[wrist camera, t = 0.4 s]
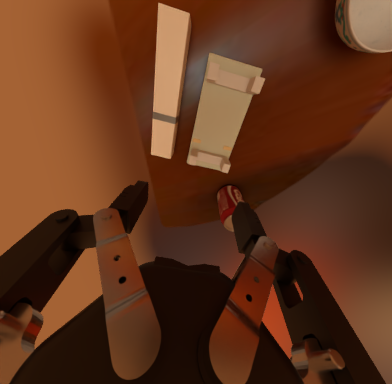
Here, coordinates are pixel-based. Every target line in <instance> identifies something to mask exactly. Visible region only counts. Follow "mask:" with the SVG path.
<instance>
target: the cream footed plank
mask: <svg viewBox="0 0 392 384" xmlns="http://www.w3.org/2000/svg"><path fill="white" fill-rule="evenodd" d="M262 70H263V69H260V68H257V67H254V66H251V65H248V64H245V63H241V62H238V61H235V60H232V59H229V58H225V57H222V56H219V55H216V54H213V53H209V58H208V63H207V68H206V72H205V77H204V82H203V87H202V92H201V97H200V101H199V106H198V111H197V116H196V121H195V126H194V131H193V135H192V140H191V145H190V150H189V155H188V160H187V163H189V164H191V165H198V166H202V167H207V168H211V169H215V170H220V171H221V172H225V173H228V171H229V168H230V166H231V164H230V162H229V160H228V159H229V156H230V154H231V151H232V149H233V146H234V143H235V141H236V138H237V135H238V133H239V130H240V127H241V125H242V122H243V120H244V117H245V114H246V112H247V109H248V106H249V104H250V101H251V99H252V96H253V94H259V93H260V91H261V88H262V86H263V83H264V81H265V78H261V77H260V75H261V72H262Z"/></svg>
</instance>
